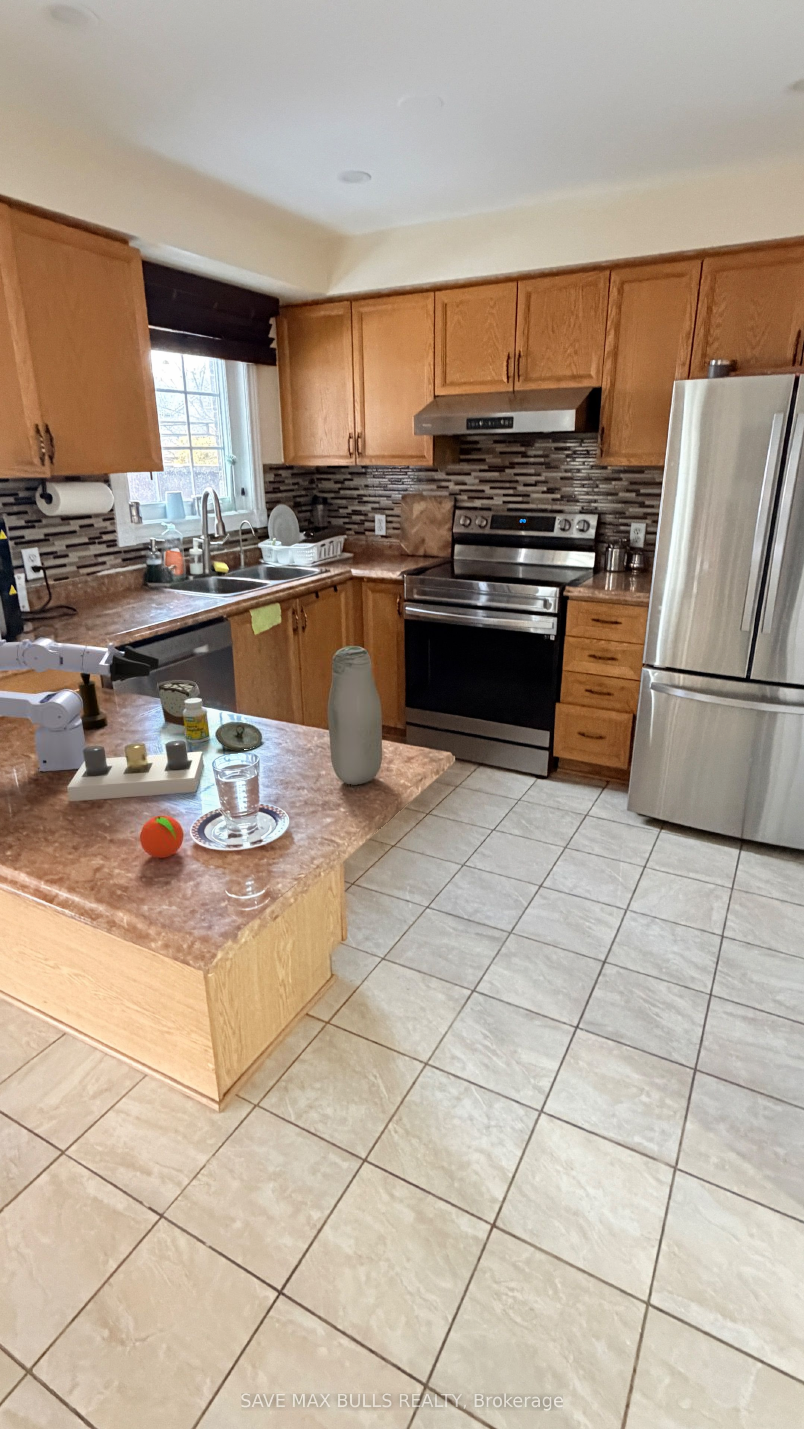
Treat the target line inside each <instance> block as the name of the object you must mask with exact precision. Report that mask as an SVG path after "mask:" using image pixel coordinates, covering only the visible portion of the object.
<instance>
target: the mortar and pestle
mask: <svg viewBox="0 0 804 1429" xmlns="http://www.w3.org/2000/svg"><path fill="white" fill-rule="evenodd" d="M79 675H80V678H81V679H82V681H80V682H78V684H77V685H78V687H77V688H78V691H79V695H80V697H81V699H82V701H83V708H82V712H83V713H82V714H81V715H80V718H81V720H82V726H83V730H88V731H89V730H97V729H100V728H104V727H106V726H107V725H108V716H107V714H106V713H104V712H103V711H101V709H100V708H101V706H100V703H99V702H100V700H99V697H98V691H97V685H96V680H91V674H89V673H80V672H79Z"/></svg>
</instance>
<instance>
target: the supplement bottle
mask: <svg viewBox="0 0 804 1429" xmlns="http://www.w3.org/2000/svg"><path fill="white" fill-rule="evenodd" d="M184 704H185V707H186V709H185V710H184V711H183V719H184V726H185V727H184V733H185V738H186V741H187V742H188V743H193V744H195V743H196V744H198V743H199V744H200V743H203V742H205V741H208V740H209V739H210V737H211V736H210V728H209V720H208V719H209V718H208V712H207V709H206V707H204V706H203V705H204V704H203V700H202V698H199V697H197V698H191V699H187V700H185V701H184Z"/></svg>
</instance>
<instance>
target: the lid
mask: <svg viewBox="0 0 804 1429" xmlns="http://www.w3.org/2000/svg"><path fill="white" fill-rule="evenodd" d="M214 734H215V739H216V740H217V742H218V743H219V744H220V745H222V747H225V748H226V749H228V750H230V751H236V752H240V751H241V750H244V749H250V748H253V747H255V748H257V747H258V746H260V744H261V743H262V740H263V734H262V732H261V730H260V729H259V728H258V727H256V726H255V725H254V724H251V723H248V722H247V723H246V722H243V721H231V722H227V723H223V724H221V725H220V726H219V727H218V728H217V729H216V730H215V733H214ZM256 746H257V747H256ZM253 749H254V748H253ZM250 750H251V749H250Z"/></svg>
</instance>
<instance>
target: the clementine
mask: <svg viewBox="0 0 804 1429" xmlns="http://www.w3.org/2000/svg"><path fill="white" fill-rule="evenodd" d="M139 842H140V845H141V847H142V849H143V851H144V852H145V853H146V854H148V855H149V856H151V857H154V858H158V859H162V858H163V859H164V858H169V857H171V856H172V855H174V854H176V853H177V852H178V851H179V849H180V848H181V847H182V844H183V842H184V831H183V827H182V825H181V824H180V822H179V821H178V820H176V819H175V818H174V817H171V816H168V815H161V814H160V815H156V816H153V817H151V818H150V819H149V820H147V821H146V822H145V823H144V825H143V827H142V828H141V831H140V833H139Z"/></svg>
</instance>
